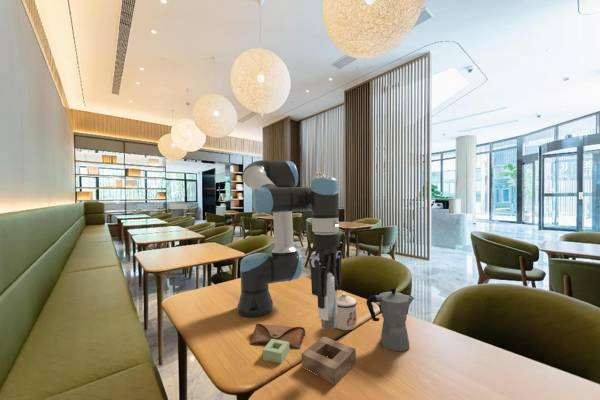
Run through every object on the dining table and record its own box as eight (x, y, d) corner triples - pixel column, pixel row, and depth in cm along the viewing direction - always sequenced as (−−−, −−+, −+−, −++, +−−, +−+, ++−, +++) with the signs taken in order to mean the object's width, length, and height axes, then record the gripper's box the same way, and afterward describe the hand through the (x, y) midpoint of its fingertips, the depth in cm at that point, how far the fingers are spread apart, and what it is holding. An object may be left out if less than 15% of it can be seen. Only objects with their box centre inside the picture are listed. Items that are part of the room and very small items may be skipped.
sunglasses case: (247, 345, 83) (250, 322, 86) (253, 345, 89) (256, 324, 92) (301, 349, 79) (302, 325, 83) (304, 349, 85) (305, 327, 89)
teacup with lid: (351, 333, 88) (350, 300, 88) (328, 326, 93) (327, 295, 93) (364, 319, 98) (363, 289, 97) (342, 313, 103) (341, 285, 103)
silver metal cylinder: (318, 326, 71) (317, 271, 71) (326, 321, 74) (325, 268, 74) (330, 331, 69) (328, 273, 68) (338, 325, 72) (336, 270, 72)
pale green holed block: (263, 359, 75) (262, 349, 75) (272, 348, 81) (271, 338, 81) (281, 363, 73) (281, 353, 73) (289, 351, 79) (289, 341, 79)
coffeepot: (408, 334, 86) (407, 282, 86) (422, 351, 77) (421, 292, 77) (363, 336, 86) (362, 283, 86) (371, 353, 77) (370, 294, 76)
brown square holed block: (301, 367, 71) (301, 353, 71) (324, 348, 79) (323, 336, 79) (335, 385, 64) (334, 369, 64) (355, 362, 72) (355, 348, 72)
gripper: (318, 237, 62) (321, 332, 62) (352, 230, 75) (354, 308, 75) (295, 235, 67) (298, 323, 67) (331, 228, 80) (333, 302, 80)
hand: (328, 315), depth 71 cm, fingers closed on silver metal cylinder, 4 cm apart
